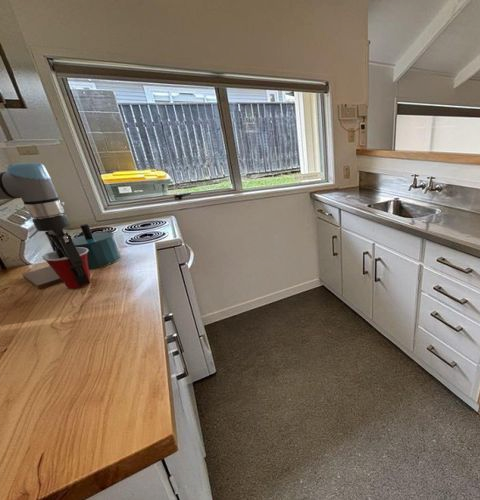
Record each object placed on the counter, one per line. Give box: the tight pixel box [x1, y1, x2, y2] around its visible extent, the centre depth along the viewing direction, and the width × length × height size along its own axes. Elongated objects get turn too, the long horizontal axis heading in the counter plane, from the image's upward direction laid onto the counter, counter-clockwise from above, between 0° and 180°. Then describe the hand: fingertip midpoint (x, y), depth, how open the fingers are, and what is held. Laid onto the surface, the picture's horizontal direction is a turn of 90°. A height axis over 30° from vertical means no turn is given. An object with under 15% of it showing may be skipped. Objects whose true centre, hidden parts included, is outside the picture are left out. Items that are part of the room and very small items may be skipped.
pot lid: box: [71, 223, 115, 247], centre depth 108 cm, size 15×15×7 cm
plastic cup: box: [41, 247, 91, 290], centre depth 93 cm, size 11×11×12 cm
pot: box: [78, 236, 121, 270], centre depth 111 cm, size 14×14×10 cm
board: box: [21, 265, 64, 290], centre depth 102 cm, size 12×18×2 cm, turn 59°
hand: (79, 281), depth 95 cm, fingers closed on plastic cup, 8 cm apart
